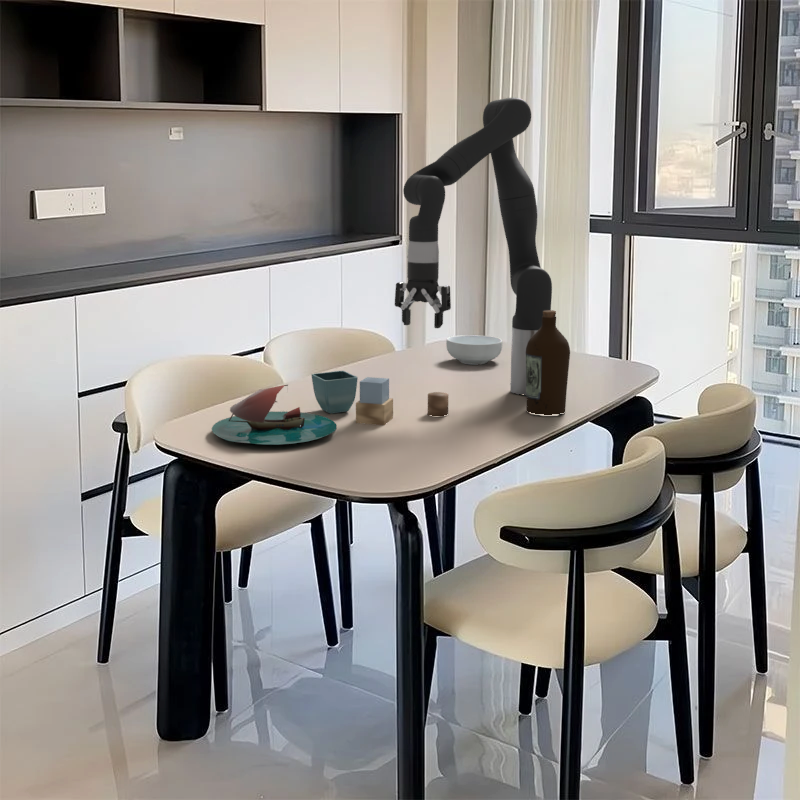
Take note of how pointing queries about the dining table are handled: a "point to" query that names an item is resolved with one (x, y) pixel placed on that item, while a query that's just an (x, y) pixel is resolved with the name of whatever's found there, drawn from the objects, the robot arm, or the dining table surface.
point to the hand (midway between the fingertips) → (422, 326)
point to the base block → (374, 412)
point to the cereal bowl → (474, 348)
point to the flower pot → (334, 390)
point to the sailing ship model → (270, 422)
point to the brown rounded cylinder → (437, 404)
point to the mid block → (374, 390)
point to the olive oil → (547, 368)
